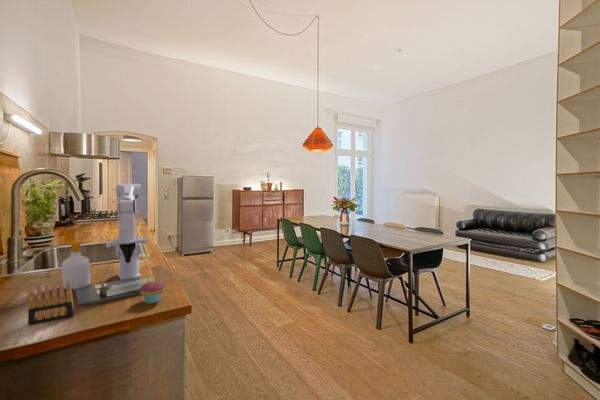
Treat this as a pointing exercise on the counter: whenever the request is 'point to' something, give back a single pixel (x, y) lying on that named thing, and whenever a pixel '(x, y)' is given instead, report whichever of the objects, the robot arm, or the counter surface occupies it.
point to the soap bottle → (75, 263)
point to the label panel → (92, 293)
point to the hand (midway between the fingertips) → (127, 262)
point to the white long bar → (122, 287)
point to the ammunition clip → (50, 304)
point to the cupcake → (152, 290)
